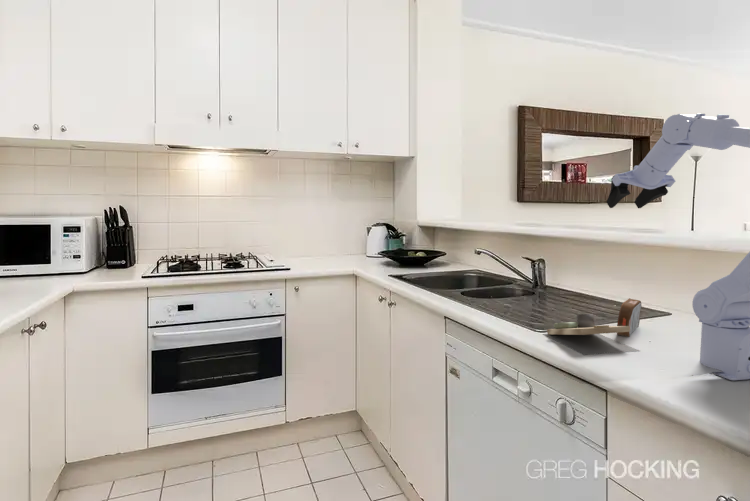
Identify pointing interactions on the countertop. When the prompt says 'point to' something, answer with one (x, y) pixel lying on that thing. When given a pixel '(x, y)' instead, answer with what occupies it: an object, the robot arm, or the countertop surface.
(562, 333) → the plate
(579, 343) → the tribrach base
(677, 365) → the countertop surface
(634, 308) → the brown and grey slab
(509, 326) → the countertop surface
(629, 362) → the countertop surface
